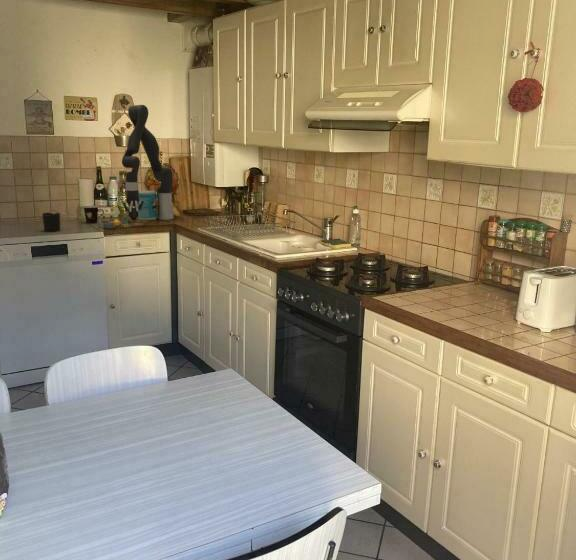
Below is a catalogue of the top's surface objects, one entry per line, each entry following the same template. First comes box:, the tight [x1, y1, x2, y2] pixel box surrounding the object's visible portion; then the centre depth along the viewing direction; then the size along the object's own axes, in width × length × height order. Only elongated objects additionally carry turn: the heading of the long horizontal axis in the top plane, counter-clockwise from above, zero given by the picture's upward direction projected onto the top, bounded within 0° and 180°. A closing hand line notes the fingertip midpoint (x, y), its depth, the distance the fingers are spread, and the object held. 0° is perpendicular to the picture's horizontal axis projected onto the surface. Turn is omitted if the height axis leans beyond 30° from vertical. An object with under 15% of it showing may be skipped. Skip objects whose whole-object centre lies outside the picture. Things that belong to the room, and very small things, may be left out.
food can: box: [137, 190, 158, 221], centre depth 404 cm, size 12×12×18 cm
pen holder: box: [42, 212, 61, 233], centre depth 359 cm, size 9×9×10 cm
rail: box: [119, 221, 144, 228], centre depth 383 cm, size 14×8×2 cm, turn 125°
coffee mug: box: [83, 205, 105, 224], centre depth 387 cm, size 12×9×10 cm
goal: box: [97, 220, 115, 229], centre depth 374 cm, size 7×10×3 cm, turn 35°
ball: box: [112, 219, 121, 227], centre depth 378 cm, size 4×4×4 cm
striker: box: [121, 207, 141, 224], centre depth 382 cm, size 9×6×10 cm, turn 125°
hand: (133, 217), depth 383 cm, fingers closed on striker, 3 cm apart
